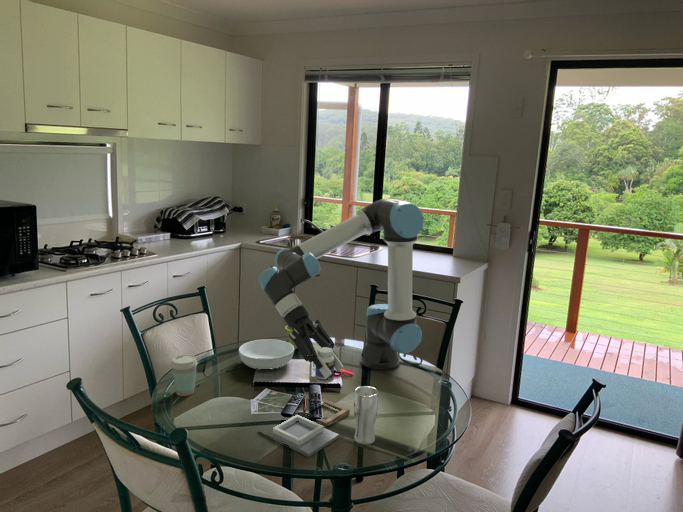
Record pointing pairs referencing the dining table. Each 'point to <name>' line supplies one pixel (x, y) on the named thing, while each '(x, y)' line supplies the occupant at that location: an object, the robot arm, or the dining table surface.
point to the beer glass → (365, 414)
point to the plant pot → (289, 337)
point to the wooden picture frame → (335, 417)
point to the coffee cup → (184, 374)
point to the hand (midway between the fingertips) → (334, 372)
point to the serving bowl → (266, 353)
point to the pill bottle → (329, 361)
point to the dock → (303, 435)
